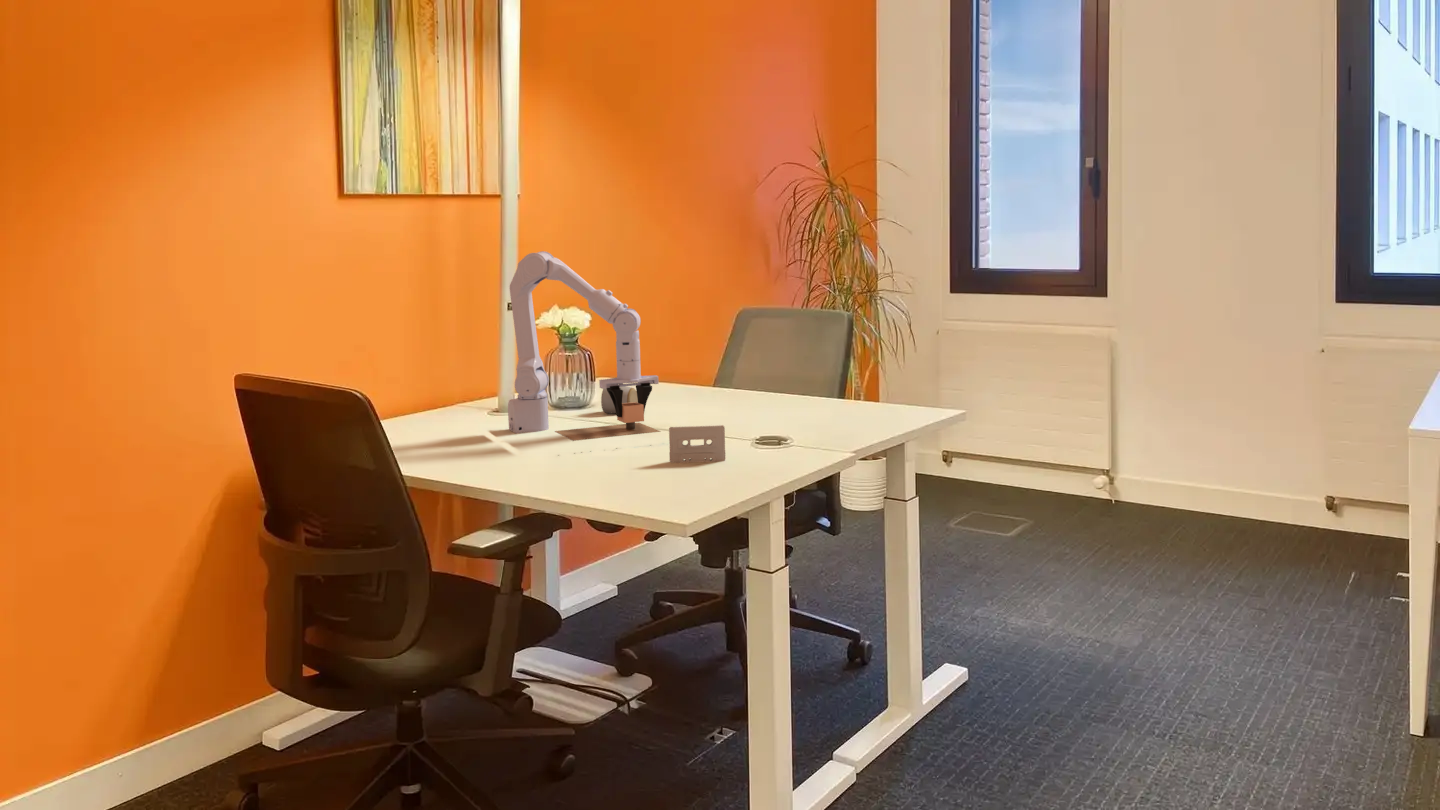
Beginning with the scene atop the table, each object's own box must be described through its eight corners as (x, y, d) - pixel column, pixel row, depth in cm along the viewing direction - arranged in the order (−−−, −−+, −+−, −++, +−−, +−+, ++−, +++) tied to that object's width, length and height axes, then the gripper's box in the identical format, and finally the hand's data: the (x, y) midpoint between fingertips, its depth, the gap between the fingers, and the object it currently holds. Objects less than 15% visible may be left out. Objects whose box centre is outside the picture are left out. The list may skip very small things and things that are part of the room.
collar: (624, 423, 295) (624, 406, 294) (617, 419, 300) (616, 403, 299) (644, 421, 297) (643, 404, 297) (636, 418, 302) (635, 402, 301)
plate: (573, 444, 286) (572, 421, 285) (554, 435, 298) (553, 412, 297) (660, 435, 295) (660, 412, 294) (639, 426, 307) (638, 404, 306)
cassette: (669, 463, 263) (668, 428, 262) (669, 461, 265) (668, 426, 264) (725, 461, 264) (725, 426, 263) (725, 459, 266) (724, 424, 265)
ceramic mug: (629, 416, 323) (629, 387, 322) (600, 415, 325) (600, 386, 324) (643, 410, 333) (643, 382, 332) (615, 409, 336) (614, 381, 334)
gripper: (605, 363, 289) (607, 420, 292) (662, 359, 295) (664, 415, 298) (595, 360, 296) (597, 416, 298) (651, 356, 302) (653, 411, 304)
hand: (630, 415), depth 298 cm, fingers closed on collar, 5 cm apart
